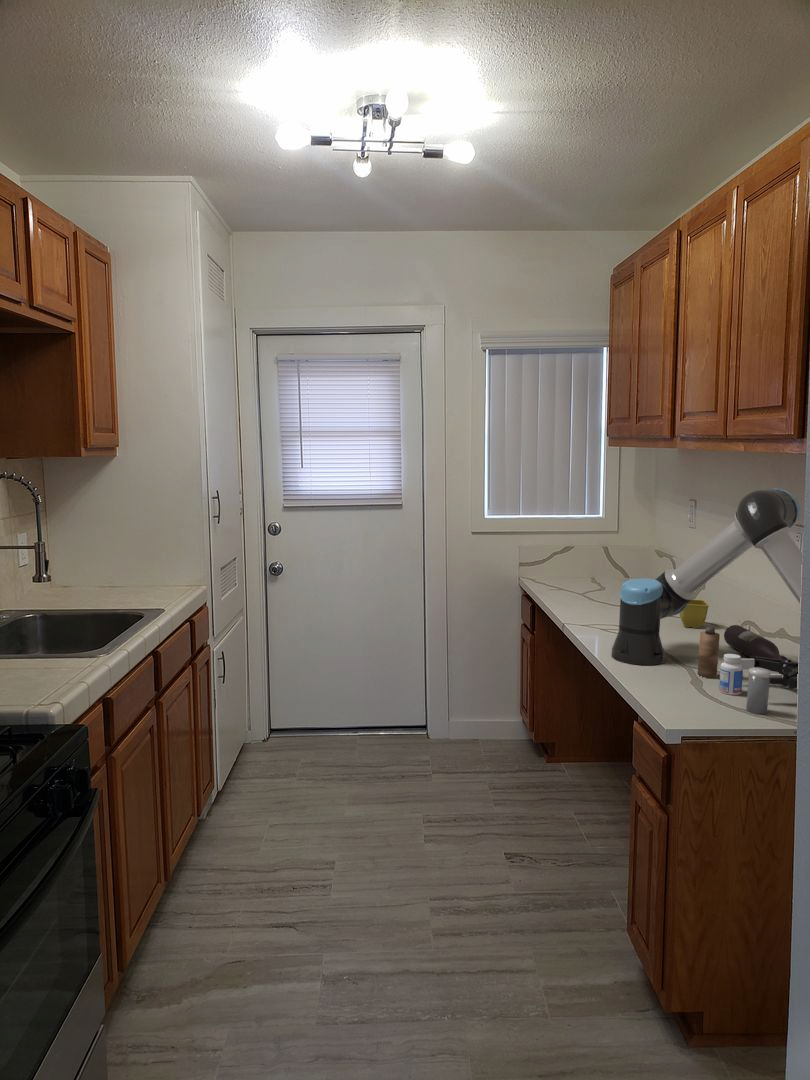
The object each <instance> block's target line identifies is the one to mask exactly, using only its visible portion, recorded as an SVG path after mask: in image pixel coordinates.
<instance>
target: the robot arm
mask: <svg viewBox="0 0 810 1080" xmlns="http://www.w3.org/2000/svg"><path fill="white" fill-rule="evenodd" d="M800 509H801V507H800V504H799V501H798V499H797V498H796V497H795V495H793V494H792V493H790V492H789V491H787V490H784V489H780V488H771V489H764V490H763V489H761V490H759V489H758V490H755V491H751V492H749V493H747V494H746V495H745V496H743V497H742V498H741V500H740V501H739V503H738V505H737V509H736V512H735V513H734V521H733V522H731V523H730V524H729V525H728V526H726V527H725V528H724V529H723V530H722V531H721V532H719V533H718V534H716V536H714V537H713V538H712V539H711V540H709V541H708V542H707V543H705V545H703V546H702V547H700V549H698V550H697V551H696V552H695V553H694V554H692V555H691V556H690V557H689V558H688V559H686V560H685V561H683V563H681V564H680V565H678V567H676V568H675V569H673V568H667V569H666V570H664V572H662V573H661V574H660V575H659V576H657V578H655V579H653V578H648V577H647V578H645V577H641V578H640V577H639V578H631V579H628V580H625V582H623V583H622V585H621V590H620V595H619V597H620V598H619V599H620V600H619V603H620V604H619V621H618V631H617V632H618V633H617V635H616V637H615V640H614V642H613V644H612V648H611V658H613V659H614V660H616V661H619V662H622V663H626V664H631V665H641V666H644V665H645V666H653V665H659V663H660V664H662V663H664V661H665V651H664V648H663V647H664V646H663V644H662V640H661V636H660V627H661V620H662V619H664V618H668V617H673V616H677V615H678V614H680V612H681V611H683V610H684V609H685V607H686V606H687V604H688V603H689V602H690V601H691V600H695V597H696V591H697V590H698V589H700V588H702V586H704V584H706V583H707V582H709V581H710V580H711V579H712V578H714V577H715V576H716V575H718V574H719V573H720V572H722V571H723V570H724V569H725V568H727V567H728V566H729V565H730V564H732V563H733V562H734V561H735V560H737V559H738V558H739V557H741V556H742V555H743V554H744V553H745V552H747V551H748V550H750V549H751V548H752V547H754V548H756V549H759V550H761V551H762V552H763V554H764V555H765V556H766V558H767V560H768V561H769V562H770V564H771V565H772V567H774V569H775V571H776V573H778V575H779V576H780V578H781V580H782V581H783V582H784V584H785V585H786V587H788V589H789V591H790V592H791V594H792V595H793V596H794V597H795V599H796V601H797V602H798V603H799V604H800V597H801V563H802V553H803V552H802V550H801V549H800V548H799V546H798V545H797V544H796V542H795V541H794V539H793V538H792V537H791V535H790V534H789V531H790V528H792V527H793V526H794V525H795V524H796V523H797V521H798V520H799V518H800V512H801V510H800ZM739 664H741V665H742V666H743V670H749V669H750V668H753V667H758V668H764V669H768V670H770V671H771V672H773V673H770V684H769V686H783V687H788V688H789V689H791V690H794V689H797V674H798V664H799V662H795V661H793V660H792V659H788V660H782V659H773V658H765V657H757V656H751V657H750V658H741V661H740V663H739ZM774 672H775V673H774Z"/></svg>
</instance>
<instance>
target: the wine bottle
mask: <svg viewBox="0 0 810 1080" xmlns="http://www.w3.org/2000/svg"><path fill="white" fill-rule="evenodd" d="M723 639H724V641H725V643H726V644H727V645H728V646H730V647H732V648H734V650H735V649H736V651H739V652H741V653H742V654H744V655H746V656H747V657H749V658H751V656H757V657H765V658H773V659H782V660H789V659H788V657H786V656H784V655H781V654H780V651H779V648H778V646H777V645H776V644H775V643H774V642H772V641H771V640H769V639H767V638H765V637H764V636H761V635H759V634H757V633H755V632H753V631H752V630H749V629H747V628H745V627H743V626H741V625H738V624H732V625H729V626H728V627H727V628H726V629H725V631H724V633H723Z"/></svg>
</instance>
